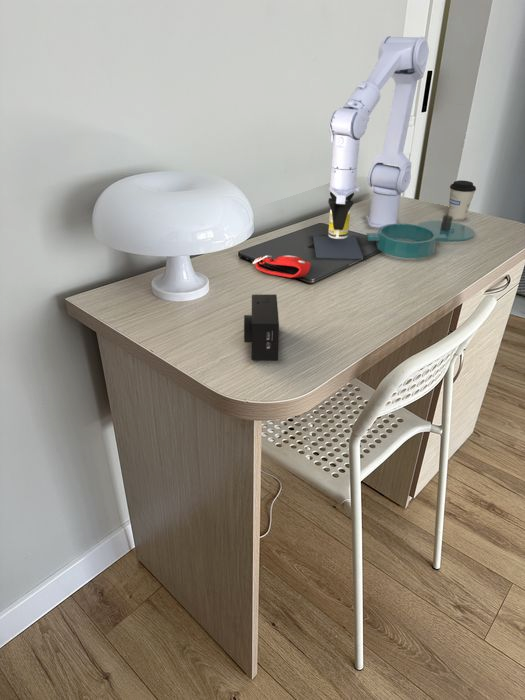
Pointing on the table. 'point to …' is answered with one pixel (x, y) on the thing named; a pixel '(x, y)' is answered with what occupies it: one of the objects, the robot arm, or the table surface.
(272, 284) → the table surface
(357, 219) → the table surface
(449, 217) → the pot lid
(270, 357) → the digital camera
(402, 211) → the table surface
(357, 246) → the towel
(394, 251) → the pot
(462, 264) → the table surface
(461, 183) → the coffee cup
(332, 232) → the supplement bottle
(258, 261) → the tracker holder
